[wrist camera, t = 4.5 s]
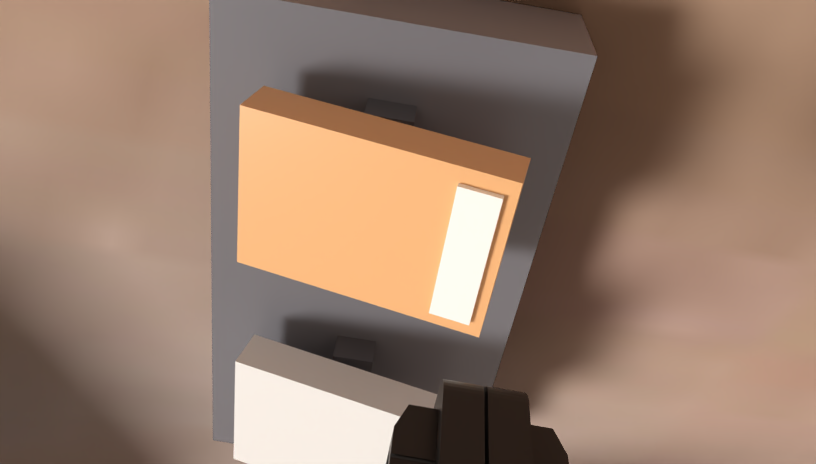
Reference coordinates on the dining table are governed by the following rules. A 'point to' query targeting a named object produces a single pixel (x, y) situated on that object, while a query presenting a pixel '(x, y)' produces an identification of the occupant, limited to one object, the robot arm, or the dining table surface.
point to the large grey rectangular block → (406, 103)
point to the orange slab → (374, 207)
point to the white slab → (313, 408)
